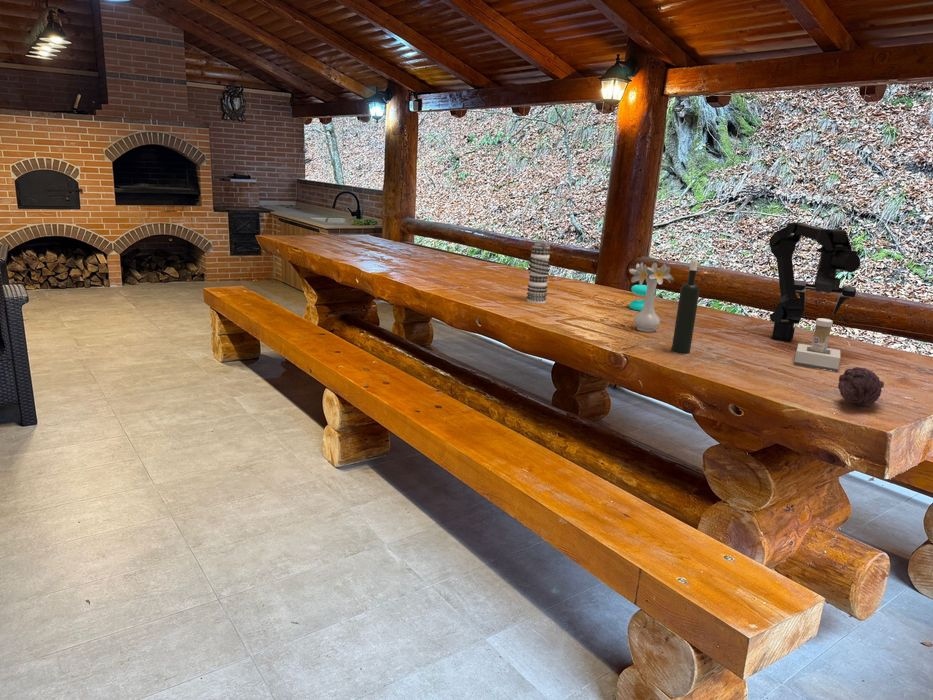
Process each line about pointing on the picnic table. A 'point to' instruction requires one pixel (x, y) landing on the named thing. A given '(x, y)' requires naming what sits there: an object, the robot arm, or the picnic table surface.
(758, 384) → the picnic table surface
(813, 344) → the sprinkles bottle
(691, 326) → the wine bottle
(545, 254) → the decorative candle
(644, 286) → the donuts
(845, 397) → the pine cone
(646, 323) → the flower vase
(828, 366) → the socket block
